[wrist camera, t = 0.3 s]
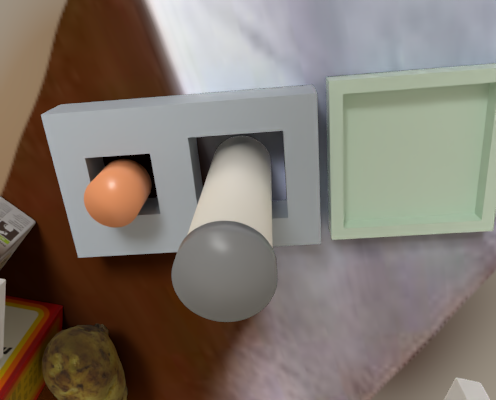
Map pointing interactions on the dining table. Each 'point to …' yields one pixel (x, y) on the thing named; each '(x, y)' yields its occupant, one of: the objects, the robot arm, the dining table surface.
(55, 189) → the dining table surface
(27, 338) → the baking soda box
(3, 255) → the coffee box
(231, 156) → the cartridge
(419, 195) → the tray
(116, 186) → the orange egg
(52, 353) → the potato
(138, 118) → the housing
